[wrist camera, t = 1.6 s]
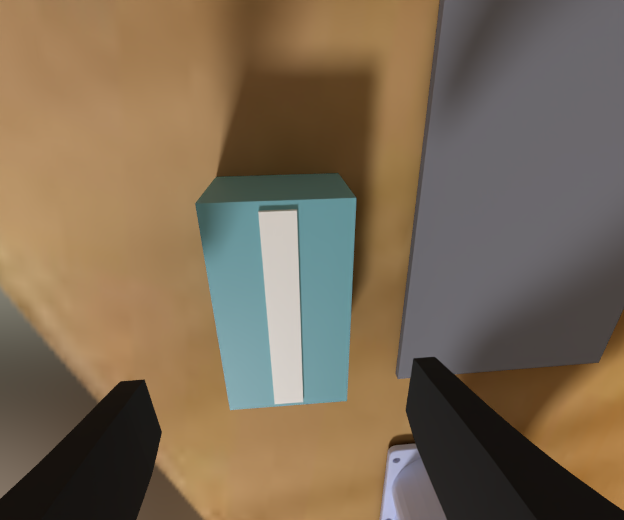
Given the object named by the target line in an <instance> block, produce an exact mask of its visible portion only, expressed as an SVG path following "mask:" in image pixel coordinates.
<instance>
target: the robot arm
mask: <svg viewBox="0 0 624 520" xmlns="http://www.w3.org/2000/svg"><path fill="white" fill-rule="evenodd" d="M406 413H407V417H408V420H409V424H410V427H411V431H412V434H413V437H414V440H415V443H414V444H403V445H395V446H392V447H390V448H389V450H388V455H387V464H386V472H385V480H384V488H383V497H382V505H381V513H380V520H624V511H623V510H622V509H620V508H619V507H617V506H616V505H614V504H613V503H612V502H610V501H609V500H607V499H606V498H604V497H603V496H602V495H600V494H599V493H598V492H596V491H595V490H593V489H592V488H591V487H589V486H588V485H587V484H585V483H584V482H582V481H581V480H580V479H578V478H577V477H575V476H574V475H573V474H571V473H570V472H569V471H567V470H566V469H565V468H563V467H562V466H561V465H559V464H558V463H557V462H556V461H554V460H553V459H552V458H550V457H549V456H548V455H547V454H545V453H544V452H543V451H542V450H540V449H539V448H538V447H537V446H535V445H534V444H533V443H532V442H530V441H529V440H528V439H527V438H525V437H524V436H523V435H522V434H521V433H519V432H518V431H517V430H516V429H515V428H514V427H512V426H511V425H510V424H509V423H508V422H506V421H505V420H504V419H503V418H502V417H501V416H500V415H498V414H497V413H496V412H495V411H494V410H493V409H492V408H490V407H489V406H488V405H487V404H486V403H485V402H484V401H483V400H481V399H480V398H479V397H478V396H477V395H476V394H475V393H474V392H473V391H472V390H471V389H469V388H468V387H467V386H466V385H465V384H464V383H463V382H462V381H461V380H460V379H459V378H458V377H456V376H455V375H454V374H453V373H452V372H451V371H450V370H449V369H448V368H447V367H446V366H445V365H443V364H442V363H441V362H440V361H439V360H438V359H437V358H436V357H424V358H413V364H412V371H411V378H410V384H409V391H408V398H407V405H406ZM161 433H162V431H161V428H160V425H159V422H158V419H157V416H156V413H155V410H154V407H153V404H152V401H151V398H150V395H149V392H148V389H147V386H146V383H145V380H133V381H121V382H119V383H118V384H117V385H116V386H115V387H114V388H113V389H112V390H111V391H110V392H109V393H108V394H107V395H106V396H105V397H104V398H103V399H102V400H101V401H100V402H99V403H98V404H97V406H96V407H95V408H94V409H93V410H92V411H91V412H90V413H89V414H88V415H87V416H86V417H85V418H84V419H83V420H82V421H81V422H80V423H79V424H78V425H77V426H76V427H75V428H74V429H73V430H72V431H71V432H70V433H69V434H68V435H67V436H66V437H65V438H64V439H63V440H62V441H61V442H60V443H59V444H58V445H57V446H56V447H55V448H54V449H53V450H52V451H51V452H50V453H49V454H48V455H47V456H46V457H45V458H43V459H42V461H40V462H39V464H37V465H36V466H35V467H34V468H33V469H32V470H31V471H30V472H29V473H28V474H27V475H26V476H24V477H23V478H22V479H21V480H20V481H19V482H18V483H17V484H16V485H15V486H14V487H13V488H11V489H10V490H9V491H8V492H7V493H6V494H5V495H4V496H3V497H2V498H1V499H0V520H136V519H137V516H138V513H139V510H140V507H141V505H142V502H143V499H144V496H145V493H146V490H147V487H148V484H149V482H150V479H151V476H152V472H153V468H154V464H155V460H156V456H157V451H158V447H159V442H160V438H161Z"/></svg>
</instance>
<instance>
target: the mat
mask: <svg viewBox="0 0 624 520" xmlns="http://www.w3.org/2000/svg"><path fill="white" fill-rule="evenodd" d="M623 309H624V0H440V4H439V12H438V21H437V29H436V38H435V46H434V55H433V63H432V72H431V80H430V88H429V97H428V105H427V114H426V122H425V131H424V139H423V148H422V156H421V164H420V173H419V181H418V190H417V198H416V207H415V215H414V223H413V232H412V240H411V249H410V257H409V266H408V274H407V283H406V291H405V299H404V308H403V316H402V325H401V333H400V342H399V350H398V358H397V367H396V376H397V378H398V379H402V378H411V371H412V364H413V358H424V357H436V358H437V359H438V360H439V361H440V362H441V363H442V364H443V365H445V366H446V367H447V368H448V369H449V370H450V371H451V372H452V373H453V374H464V373H476V372H488V371H501V370H513V369H525V368H538V367H550V366H562V365H574V364H587V363H599V361H600V359H601V356H602V354H603V352H604V350H605V348H606V346H607V344H608V341H609V339H610V337H611V335H612V333H613V331H614V328H615V326H616V324H617V322H618V320H619V318H620V316H621V313H622V311H623Z"/></svg>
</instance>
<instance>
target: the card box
mask: <svg viewBox="0 0 624 520" xmlns="http://www.w3.org/2000/svg"><path fill="white" fill-rule="evenodd" d="M195 205H196V211H197V217H198V223H199V229H200V235H201V241H202V246H203V252H204V258H205V264H206V270H207V276H208V282H209V288H210V294H211V300H212V306H213V312H214V318H215V323H216V329H217V335H218V341H219V347H220V353H221V359H222V365H223V371H224V377H225V383H226V389H227V395H228V401H229V406H230V410H236V409H249V408H262V407H275V406H287V405H300V404H313V403H326V402H339V401H347V388H348V366H349V345H350V324H351V302H352V281H353V260H354V238H355V217H356V197H355V195H354V194H353V193H352V191H351V190H350V188H349V187H348V186H347V184H346V183H345V182H344V180H343V179H342V178H341V176H340V175H339V174H338V173H326V174H293V175H260V176H226V177H216V178H215V179H214V180H213V181H212V183H211V184H210V185H209V187H208V188H207V189H206V190H205V192H204V193H203V194H202V196H201V197H200V198H199V199H198V201H197V202H196V203H195Z"/></svg>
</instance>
